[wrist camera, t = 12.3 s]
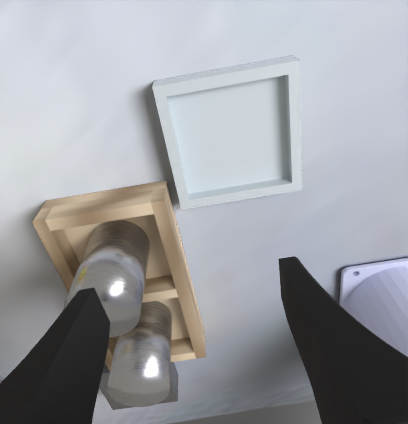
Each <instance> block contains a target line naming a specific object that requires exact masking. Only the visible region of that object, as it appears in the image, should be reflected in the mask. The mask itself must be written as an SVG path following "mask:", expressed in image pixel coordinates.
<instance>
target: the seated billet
mask: <svg viewBox="0 0 408 424" xmlns="http://www.w3.org/2000/svg"><path fill="white" fill-rule="evenodd" d="M171 339H172V313H171V311H170V309H169V308H168V307H167V306H166V305H165V304H163V303H161V302H159V301H151V302H144V303H142V306H141V313H140V319H139V322H138V324H137V325H136V326H135V327H134V329H132V330H131V331H129V332H128V333H126V334H123V335H120V336H117V339H116V344H115V350H114V355H113V360H112V365H111V370H110V376H109V381H108V386H107V391H108V394H109V395H110V397H111V398H112V399H113V400H115V401H117V402H118V403H121V404H123V405H127V406H133V407H145V406H151V405H155V404H157V403H159V402H161V401H163V400H164V399H165V398H166V397H167V396H168V394H169V391H170V366H171Z"/></svg>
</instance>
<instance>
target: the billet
mask: <svg viewBox="0 0 408 424" xmlns="http://www.w3.org/2000/svg"><path fill="white" fill-rule="evenodd" d="M149 251H150V241H149V238H148V236H147V234H146V233H145V231H144V230H143V229H142V228H141V227H139V226H138V225H136V224H134V223H132V222H129V221H125V220H115V221H109V222H103V223H101V224H100V225H98V226H97V227H96V228H95V229H94V230H93V232H92V234H91V236H90V239H89V242H88V244H87V247H86V249H85V252H84V255H83V257H82V260H81V263H80V265H79V268H78V270H77V273H76V276H75V278H74V281H73V283H72V286H71V289H70V291H69V294H68V296H67V299H66V302H65V305H64V309H65V308H66V306H67V305H68V304H69V302H70V301H71V300H72V298H73V297H74V296H75V295H76V293H77V292H78V291H79V290H82V289H88V288H95V290H96V292H97V295H98V297H99V299H100V301H101V303H102V305H103V308H104V310H105V312H106V314H107V316H108V318H109V320H110V333H109V337H116V336H120V335H123V334H126V333H128V332H129V331H131V330H132V329H134V327H135V326H136V325H137V324H138V322H139V319H140V313H141V306H142V300H143V293H144V286H145V279H146V272H147V265H148V258H149Z"/></svg>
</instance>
